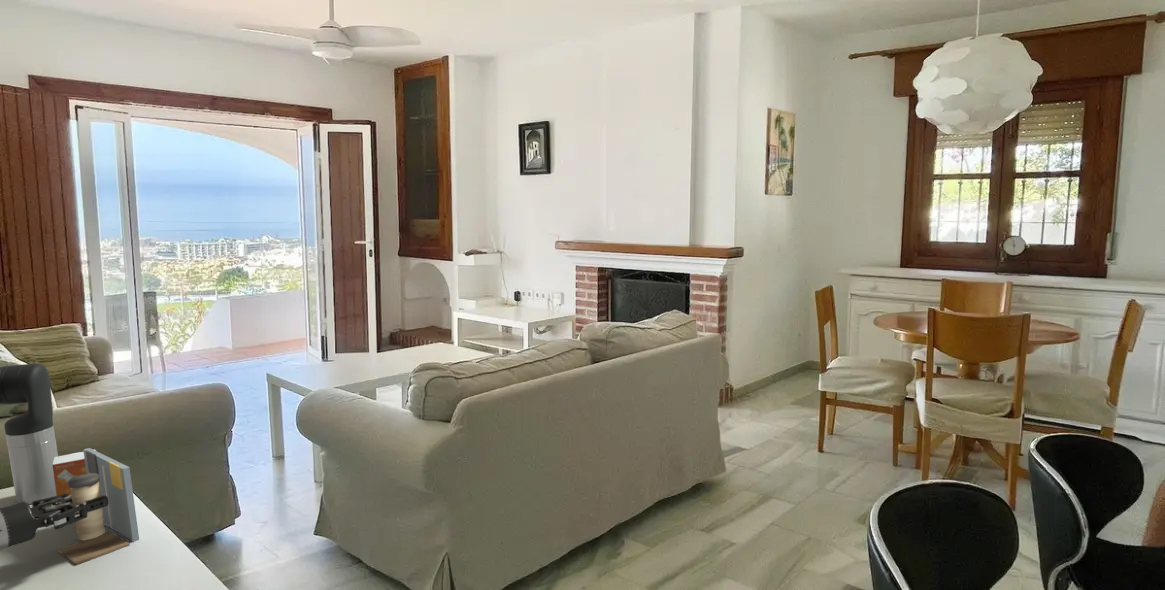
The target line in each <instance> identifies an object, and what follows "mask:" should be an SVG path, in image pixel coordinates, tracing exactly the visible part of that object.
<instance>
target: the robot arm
mask: <svg viewBox="0 0 1165 590" xmlns="http://www.w3.org/2000/svg"><path fill="white" fill-rule="evenodd" d="M52 401H53V400H52V388H51V379H50V375H49V371H48V369H47V367H46V366H45V365H44V364H42V363H26V364H24V363H23V364H16V365H15V364H14V365H6V366H5V365H4V366H0V405H15V404H25V403H27V410H26V411H25V412H24V413H22V414H19V415H17V416H14V417H12V418H10V419H8V420H6V422H5V423H4V433H5V439H6V445H7V451H8V458H9V462H10V463H9V464H10V468H11V469H10V470H11V475H12V481H13V482H12V483H13V489H14V495H15V501H16V503H13V504H10V505H7V506H3V507H0V551H2V550H4V549H7V548H10V547H11V548H12V547H14V546H16V545H20V544H23V543H25V542H28V541H31V540H33V539H35V537H36V534H37V533H36V531H37V530H39V529H43V528H50V527H53V528H54V529H53V530H61V529H63V528H65V527H68V526H70V525H72V524H75V522H77V521H79V520H82V519H84V518H87V514H88V512H90V511H93V510H97V509H100V508H103V507H106V506H108V497H107V496H105V495H103V496H100V497H97V498H94V499H91V500H87V501H83V502H79V503H75V504H73V503H72V496H71V495H69V496H68V494H63V495H58V496H56V488H55V481H54V474H53V461H54V457H58V456H59V454H58V447H57V441H56V435H55V428H54V421H53V414H54V413H53V411H54V409H53V402H52ZM30 505H31V506H30ZM77 511H79V512H77ZM75 512H77V513H75Z"/></svg>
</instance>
